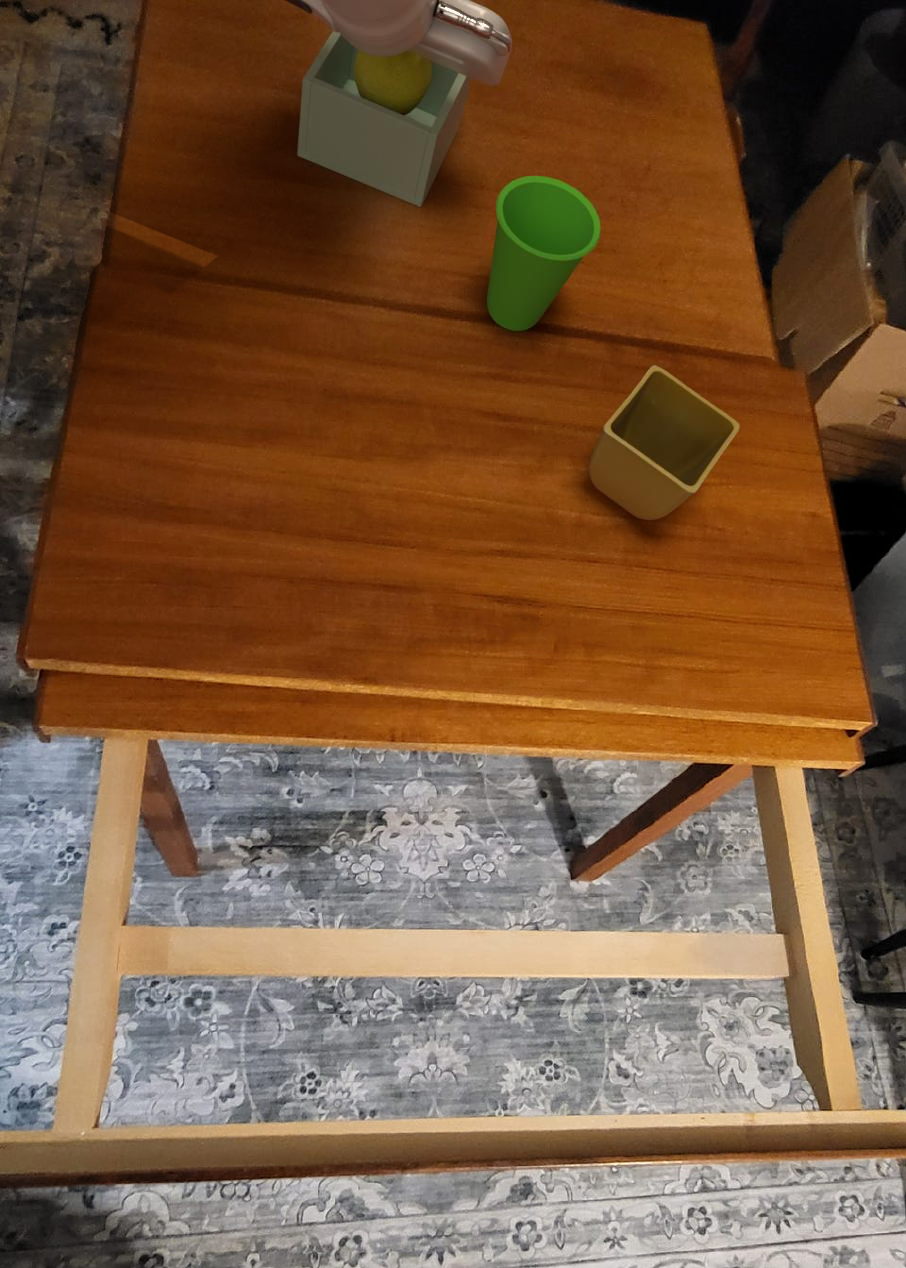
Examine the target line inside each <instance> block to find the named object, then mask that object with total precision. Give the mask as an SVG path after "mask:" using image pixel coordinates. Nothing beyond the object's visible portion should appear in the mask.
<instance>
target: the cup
mask: <svg viewBox="0 0 906 1268" xmlns="http://www.w3.org/2000/svg"><path fill="white" fill-rule="evenodd" d="M495 212H496V213H495V214H496V217H497V222H496V228H495V235H494V236H495V237H494V243H493V251H492V258H491V264H490V265H491V267H490V273H489V279H488V287H487V294H486V307H487V312H488V314H489V316H490V317H491V319H492V320H493V321H494V322H495V323H496V324H497V325H499V326H500V327H501V328H504V329H506V330H509V331H513V332H521V331H526V330H529V329H531V328H532V327H533V326H535V325H536V324H537V323H539V322H540V319H541V318H542V317H543V315H544V314H545V312H546V311H547V309H548V308H549V307H550V305H552V303H553V301H554V300H555V298H556V297H557V295H558V294H559V293H560V291H561V290H562V288H563V287H564V285H566V282H567V281H568V280H569V279H570V277H571V275H572V274H573V273H574V272H575V270H576V269H577V267H578V266H579V264H580V263H581V261H582V260H583V259H584V257H585V256H587V255H588V254H589V253H591V252H592V251H593V250H595V248H596V247H597V245H598V243H599V241H600V237H601V232H602V231H601V230H602V229H601V221H600V217H599V215H598V213H597V210H596V209H595V207H594V205H593V204H592V203H591V201H590V200H589V199H588V198H587V197H586V196H585V195H584V194H583V193H582V192H581V191H580V190H578V189H577V188H575V187H574V186H572V185H570V184H569V183H566V182H564V181H562V180H560V179H557V178H553V177H548V176H543V175H529V176H522V177H519V178H516V179H514V180H512V181H511V182H509V183H508V184H506V185H505V186H504V187H503V188H502V189H501V190H500V192H499V193H498V195H497V199H496V202H495Z"/></svg>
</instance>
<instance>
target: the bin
mask: <svg viewBox="0 0 906 1268" xmlns="http://www.w3.org/2000/svg"><path fill="white" fill-rule="evenodd" d="M358 51H359V49H357V48H355V47H354V46H352V45H351V44H350V43H349V42H348V41H347V40H346V39H345V38H344V37H343V36H342V35H341V34H340V32H339V33H336V32H334V31H333V30H332V32H331V33H330V35H329V37H328V38H327V40H326V41H325V42H324V44H323V46H322V47H321V49H320V51H319V53H318V54H317V55H316V57H315V59H314V60H313V62H312V63H311V65H310V66H309V68H308V70H307V72H305V75H304V76H303V78H302V82H301V83H302V85H301V99H300V114H299V126H298V140H297V141H298V142H297V152H296V153H297V157H300V158H302V159H304V160H306V161H309V162H311V163H313V164H316V165H319V166H321V167H323V168H325V169H328V170H330V171H333V172H335V173H337V174H339V175H340V174H341V175H342V176H345V177H347V178H350V179H352V180H354V181H357V182H359V183H361V184H363V185H367V186H369V187H371V188H373V189H375V190H379V191H380V192H383V193H386V194H388V195H390V196H391V197H392V196H393V197H394V198H397V199H400V200H402V201H404V202H407V203H409V204H411V205H414V206H415V207H418V208H422V207H423V204H424V202H425V200H426V198H427V196H428V193H429V192H430V189H431V187H432V185H433V183H434V181H435V179H436V177H437V175H438V173H439V170H440V168H441V166H442V164H443V162H444V160H445V158H446V156H447V153H448V152H449V150H450V147H451V145H452V143H453V142H454V139H455V138H456V135H457V133H458V131H459V129H460V124H461V121H462V118H463V113H464V109H465V105H466V101H467V97H468V93H469V89H470V85H471V81H472V78H469V77H467V76H465V75H462V74H460V73H458V72H455V71H453V70H451V69H448V68H446V67H444V66H441V65H439V64H435V63H433V62H431V66H432V77H431V82H430V85H429V88H428V90H427V92H426V94H425V95H424V97H423V99H422V100H421V102H420V103H419V105H418V106H417V107H416V108H415V109H414V110H413V111H411V112H410V113H408V114H407V115H405V116H403V115H401V114H399V113H396V112H394V111H392V110H389V109H387V108H385V107H382V106H380V105H378V104H375V103H373V102H371V101H368V100H366V99H364V98H361V96H360V95H359V92H358V89H357V86H356V83H355V78H354V65H355V60H356V56H357V53H358Z"/></svg>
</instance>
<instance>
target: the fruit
mask: <svg viewBox="0 0 906 1268" xmlns="http://www.w3.org/2000/svg"><path fill="white" fill-rule="evenodd" d="M431 77H432V66H431V61H429V60H426V59H424V58H422V57H420V56H418V55H416V54H413V53H411V52H409V51H404V52H402V53H400V54H397V55H392V56H375V55H371V54H367V53H365V52H362V51H360V50H359V51H358V53H357V56H356V60H355V65H354V78H355V83H356V86H357V89H358V92H359V95H360V96H361V98H364V99H366V100H368V101H371V102H373V103H375V104H378V105H380V106H382V107H385V108H387V109H389V110H392V111H394V112H396V113H399V114H401V115H403V116H405V115H407V114H408V113H410V112H411V111H413V110H414V109H415V108H416V107H417V106H418V105H419V103H420V102H421V100H422V99H423V97H424V95H425V94H426V92H427V90H428V88H429V85H430V82H431Z"/></svg>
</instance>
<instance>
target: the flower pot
mask: <svg viewBox="0 0 906 1268" xmlns="http://www.w3.org/2000/svg"><path fill="white" fill-rule="evenodd" d="M740 428H741V425H740V423H739V422H737V420H735V419H734V418H733V417H732V416H730V415H728V414H727V413H726V412H725V411H724V410H721V409H720V408H719V407H717V406H716V405H714V404H713V403H712V402H710V401H709V400H707V399H705V398H704V397H703V396H702V395H700V394H699V393H697V392H696V391H694V389H692V388H691V387H689V386H687V385H686V384H684V382H683V381H681V380H680V379H678V378H676V377H675V376H674V375H673V374H671V373H670V372H668V371H667V370H665V369H663V368H662V367H660V366H658V365H655V364H653V365H652V366H650V367H649V369H648V370H647V371H646V373H645V374H644V375H643V377H642V378H641V379H640V381H639V382H638V383H637V385H636V386H635V388H633V390H632V391H631V393H630V394H629V395H628V396H627V398H626V399H625V400H624V401H623V402H622V404H621V405H620V406H619V407H618V408H617V409H616V410H615V412H614V413H613V414H612V415H611V417H610V418H609V419H608V420H607V421H606V422H605V423H604V425H603V427H602V429H601V432H600V433H599V436H598V438H597V441H596V443H595V445H594V448H593V451H592V453H591V455H590V458H589V462H588V474H589V478H590V481H591V483H592V484H593V486H594V487H595V489H597V490H598V491H599V492H600V493H602V494H603V495H605V497H607V498H609V499H610V500H612V501H613V502H614V503H616V504H617V505H618V506H620V507H621V508H622V509H624V510H625V511H627V513H629V514H630V515H632V516H633V517H634V518H636V519H639V520H644V521H655V520H659V519H662V518H664V517H666V516H667V515H669V514H670V513H672V512H673V511H674V510H676V509H677V508H678V507H679V506H680V505H682V504H684V502H686V501H687V500H688V499H689V498H690V497H692V496H693V495H694V494H695V493H697V492H698V491H699V489H700V487H701V486H702V484H703V483H704V481H705V480H706V478H707V476H708V475H709V474H710V472H711V471H712V470H713V468H714V467H715V465H716V463H717V462H718V461H719V459H720V458H721V456H722V455H723V453H724V452H725V451H726V449H727V448H728V446H729V445H730V444H731V442H732V441H733V440H734V438H735V437H736V435H737V434H738V432H739V430H740Z"/></svg>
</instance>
